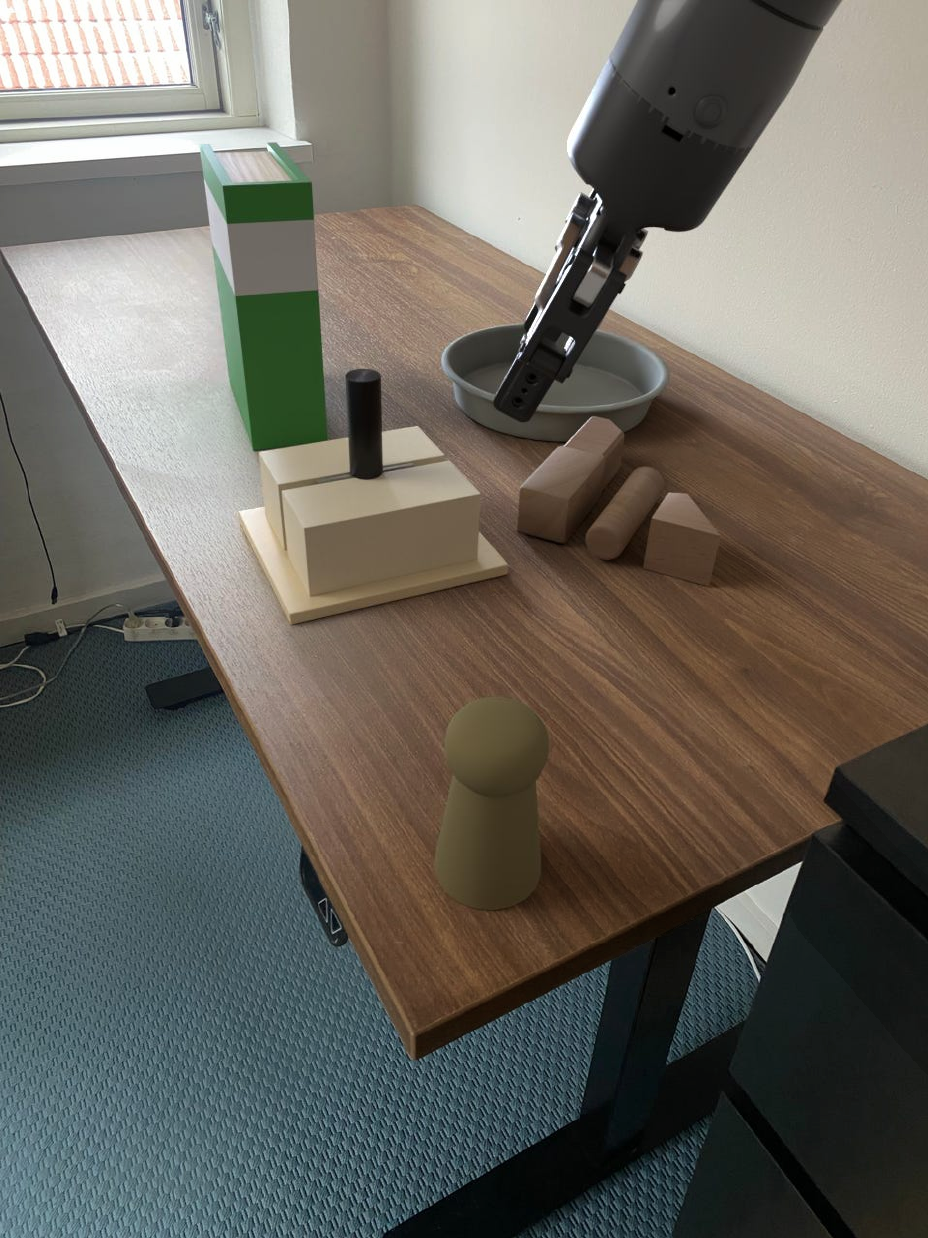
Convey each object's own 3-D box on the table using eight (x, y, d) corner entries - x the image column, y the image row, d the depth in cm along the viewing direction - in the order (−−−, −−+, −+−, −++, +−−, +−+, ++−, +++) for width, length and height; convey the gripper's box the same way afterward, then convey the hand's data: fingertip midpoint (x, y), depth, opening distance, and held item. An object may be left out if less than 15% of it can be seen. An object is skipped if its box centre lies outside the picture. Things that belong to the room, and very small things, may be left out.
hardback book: (229, 381, 104) (199, 144, 89) (295, 374, 106) (276, 142, 91) (253, 450, 90) (222, 185, 76) (327, 441, 92) (311, 181, 78)
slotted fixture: (290, 625, 68) (282, 544, 64) (238, 521, 80) (229, 447, 76) (508, 574, 75) (513, 498, 70) (430, 484, 86) (431, 414, 82)
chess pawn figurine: (420, 896, 50) (421, 750, 43) (448, 812, 54) (453, 669, 48) (531, 921, 49) (549, 776, 42) (550, 834, 53) (569, 691, 47)
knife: (326, 554, 74) (316, 389, 66) (317, 538, 76) (305, 375, 68) (419, 535, 77) (420, 374, 69) (407, 520, 79) (407, 361, 71)
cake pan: (606, 473, 89) (612, 430, 86) (396, 410, 99) (396, 370, 96) (696, 390, 106) (703, 351, 103) (509, 343, 116) (511, 307, 113)
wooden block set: (514, 479, 76) (590, 401, 89) (510, 538, 79) (583, 455, 92) (719, 532, 70) (767, 440, 83) (705, 593, 73) (754, 496, 86)
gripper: (632, 5, 45) (492, 283, 57) (592, 93, 35) (433, 407, 47) (762, 86, 46) (598, 342, 58) (758, 193, 36) (562, 476, 48)
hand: (524, 371), depth 52 cm, fingers open, 8 cm apart
